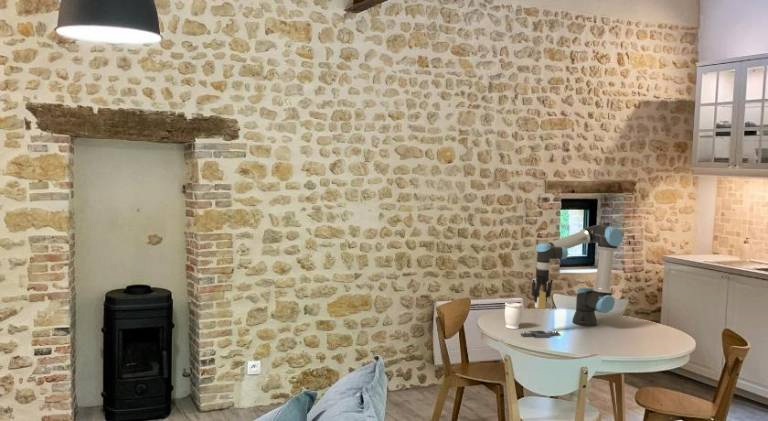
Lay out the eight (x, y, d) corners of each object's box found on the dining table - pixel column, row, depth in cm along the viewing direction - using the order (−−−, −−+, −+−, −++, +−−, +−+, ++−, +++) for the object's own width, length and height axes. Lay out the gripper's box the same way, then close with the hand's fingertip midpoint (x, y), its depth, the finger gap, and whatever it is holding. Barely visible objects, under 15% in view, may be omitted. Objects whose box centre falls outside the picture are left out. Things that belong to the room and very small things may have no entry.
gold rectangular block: (541, 307, 406) (542, 291, 405) (544, 308, 402) (545, 292, 401) (535, 307, 405) (536, 290, 404) (538, 308, 401) (539, 292, 400)
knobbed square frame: (554, 333, 404) (554, 329, 404) (562, 337, 395) (562, 333, 395) (518, 334, 397) (518, 330, 397) (525, 338, 389) (525, 334, 388)
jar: (520, 330, 408) (522, 306, 407) (503, 328, 410) (504, 304, 409) (520, 326, 419) (522, 302, 417) (504, 324, 421) (505, 301, 420)
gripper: (552, 268, 408) (549, 306, 409) (526, 267, 403) (524, 306, 405) (558, 270, 400) (555, 308, 402) (532, 269, 396) (529, 308, 398)
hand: (540, 307), depth 403 cm, fingers closed on gold rectangular block, 4 cm apart
